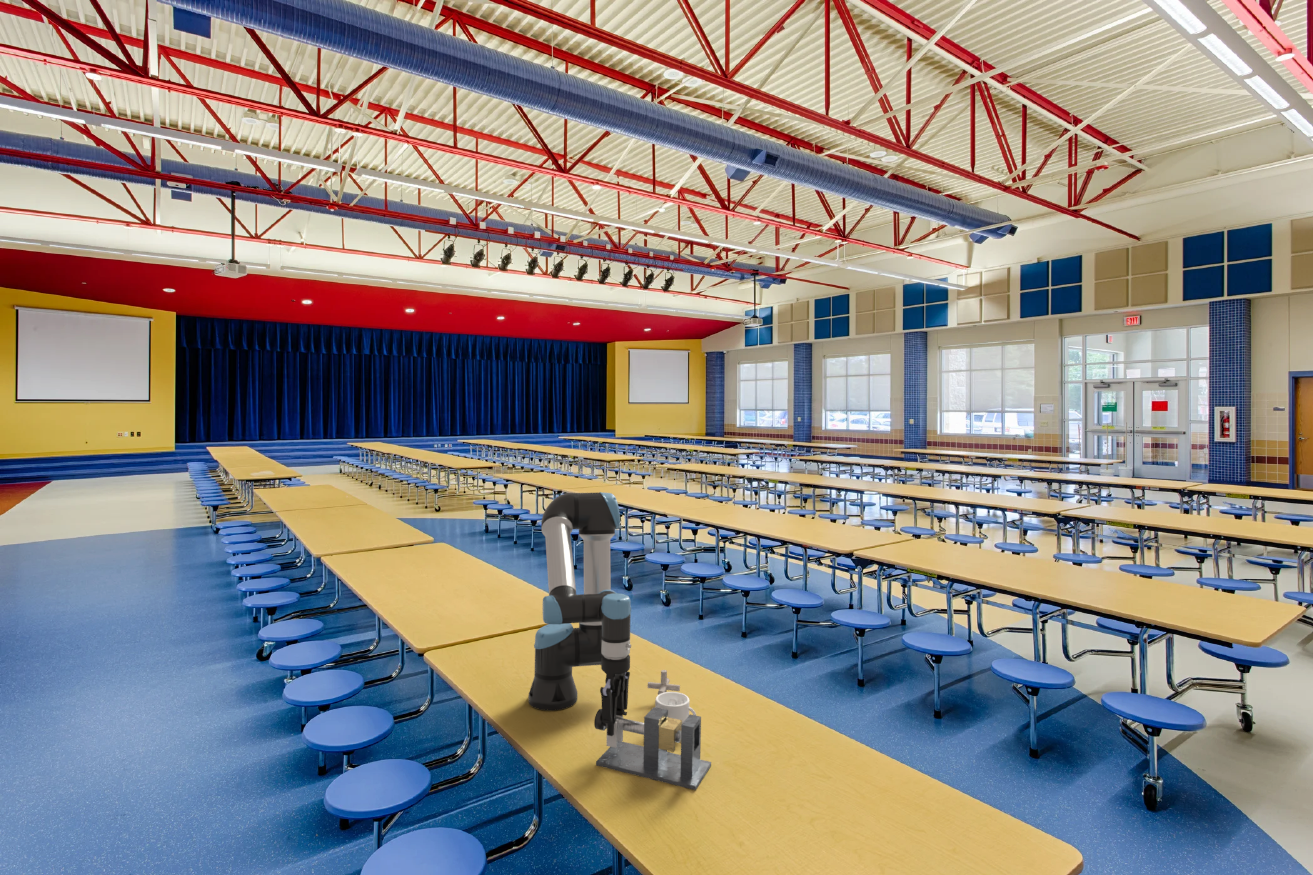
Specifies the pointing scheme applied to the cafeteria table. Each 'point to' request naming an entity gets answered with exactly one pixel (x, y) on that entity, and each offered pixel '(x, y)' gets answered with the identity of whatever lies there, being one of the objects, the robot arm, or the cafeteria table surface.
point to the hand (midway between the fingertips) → (614, 742)
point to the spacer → (669, 733)
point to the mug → (674, 705)
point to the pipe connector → (663, 684)
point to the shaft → (626, 725)
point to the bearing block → (661, 754)
